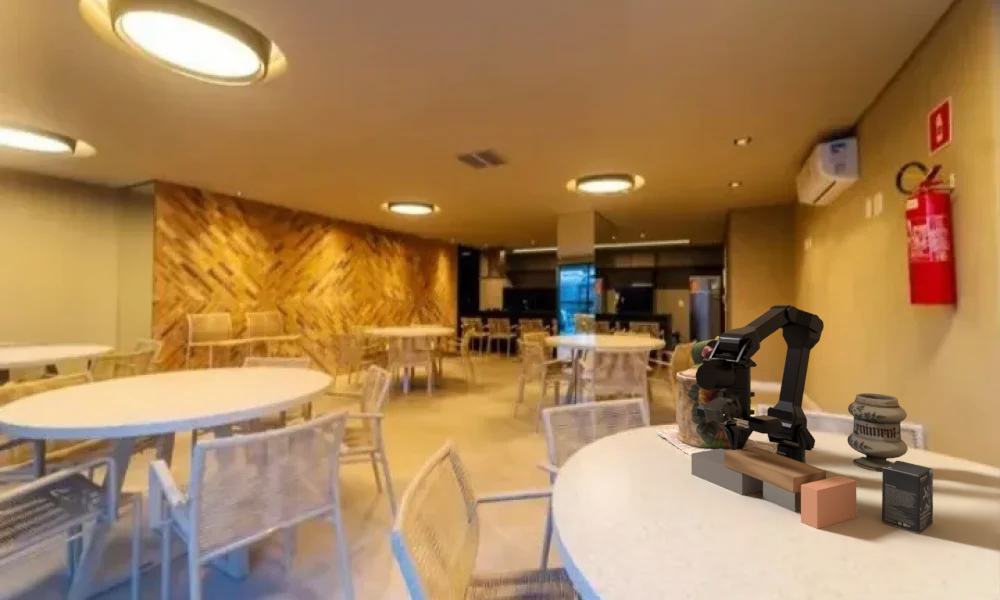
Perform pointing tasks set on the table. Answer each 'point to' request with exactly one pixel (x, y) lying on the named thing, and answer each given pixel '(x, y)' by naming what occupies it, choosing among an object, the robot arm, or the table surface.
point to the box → (907, 496)
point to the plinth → (723, 472)
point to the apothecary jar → (876, 430)
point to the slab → (773, 468)
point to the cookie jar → (693, 428)
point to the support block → (782, 497)
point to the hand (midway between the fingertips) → (736, 454)
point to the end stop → (828, 501)
